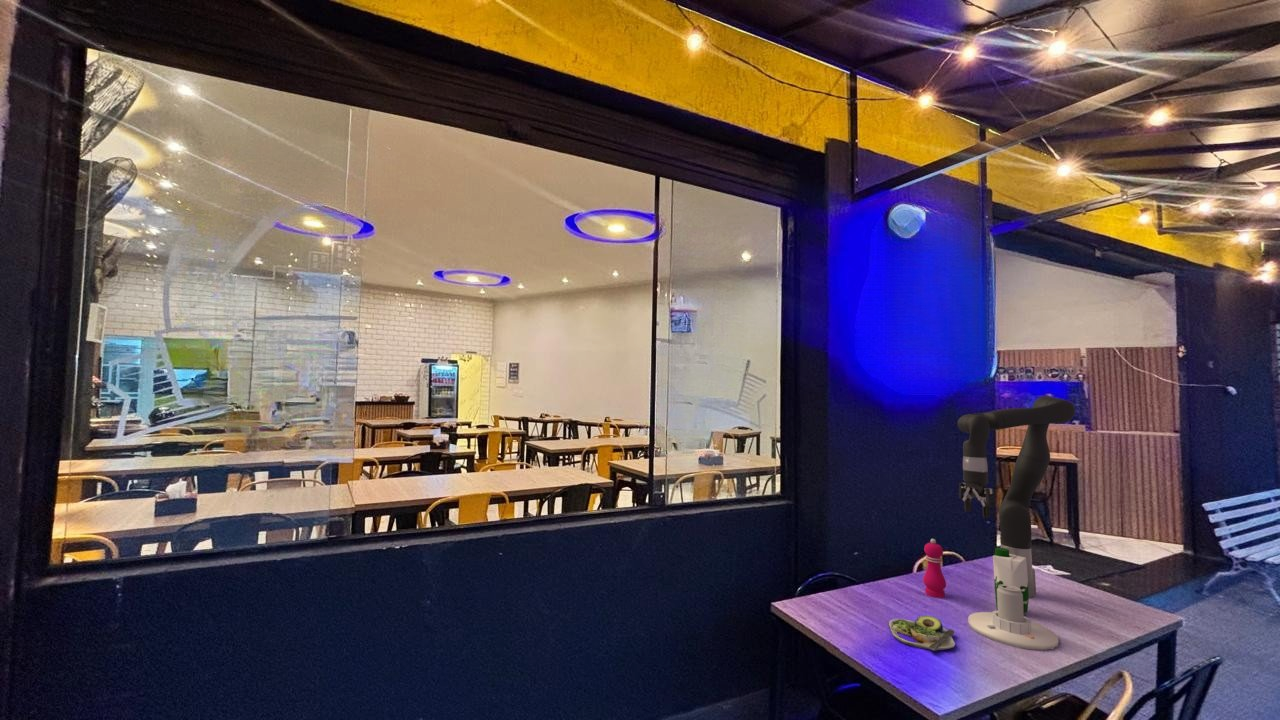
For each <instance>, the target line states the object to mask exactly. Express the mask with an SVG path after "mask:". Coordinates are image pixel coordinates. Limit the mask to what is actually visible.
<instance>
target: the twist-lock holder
mask: <svg viewBox="0 0 1280 720" xmlns="http://www.w3.org/2000/svg"><path fill="white" fill-rule="evenodd" d="M967 620H968V621H967V622H968V626H969V627H970V628H971V629H972V631H974V632H976V633H978V635H981V636H982V637H985V638H987V639H989V640H991V641H994V642H998V643H1000V644H1002V645H1007V646H1011V647H1014V648H1015V647H1016V648H1019V649H1025V650H1030V651H1031V650H1033V651H1048V650H1047V649H1051V650H1053V649H1052V648H1055V647H1056V648H1058V647H1059V644H1058V643H1059V636H1058V635H1057V634H1056V633H1055V632H1054V631H1052V630H1051V629H1049V628H1048V627H1046V626H1044V625H1042V624H1039V623H1037V622H1036V621H1032V620H1030V618H1029V617H1027V616H1025V615H1024V622H1020V623H1018V622H1012V621H1008V620H1005V619H1002V618H1000V617H998V610H993V611H991V612H990V611H981V612H973V613H970V614H969V616H968V619H967ZM1057 646H1058V647H1057ZM1056 648H1055V649H1056Z"/></svg>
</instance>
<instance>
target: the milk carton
mask: <svg viewBox="0 0 1280 720" xmlns="http://www.w3.org/2000/svg"><path fill="white" fill-rule="evenodd" d="M992 561H993V578H994V579H993V580H994V596H995V606H996V611H998V604H997V588H998V585H1000V584H1005V585H1011V586H1015V587H1018V588H1020V589H1021V592H1022V594H1023V612H1024V616H1025V615H1026V613H1028V609H1029V602H1030V601H1029V600H1030V598H1029V592H1028V573H1027V563H1026V558H1025V557H1020V556H1017V555H1012V554H1009V550H1008V549H1005V548H1001V547H995V548H994V554H993V555H992Z"/></svg>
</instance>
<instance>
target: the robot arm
mask: <svg viewBox="0 0 1280 720" xmlns="http://www.w3.org/2000/svg"><path fill="white" fill-rule="evenodd" d="M1075 415H1076V407H1075V405H1074V404H1073V403H1072V402H1070V401H1069V400H1066V399H1064V398H1058V397H1053V396H1049V395H1048V396H1047V395H1043V396H1039V397H1038V398H1037V399H1036V400H1035V401H1034V403H1032V407H1022V408H1021V407H1019V408H1018V407H1016V408H1015V407H1014V408H1012V407H1011V408H1003V409H997V410H996V409H995V410H991V411H988V412H976V413H968V414H964V415H962V416H961V417H959V419H958V420H957V423H956V424H957V428H958V429H959V430H960V431H961V432H963V433H966V434H969V437H968V439H967V440H965V441H963V444H962V456H963V457H962V475H963V476H962V477H963V482H959V483H958V497H959V499H961V500H962V501H963V508H964V509H963V510H964V512H966V513H972V511H973V510H972V502H971V501H972V500H973V498H975V499H977V500H978V501H979V502H980V503H981V505H982V508H981V510H982V511H981V512H982V517H983V518H985V519H986V518H990V517H991V507H995V506H996V498H995V489H994V488H990V487H989V488H987V484H988V483H989V473H988V472H989V471H988V470H989V469H988V461H987V443H988V440H989V436H990V431H994V430H995V431H998V430H1004V429H1010V428H1016V427H1021V426H1022V427H1023V426H1024V427H1025V426H1027V428H1026V429H1027V430H1026V432H1025V436H1024V438H1023V442H1022V445H1021V448H1020V450H1019V452H1018V455H1017V457H1016V461H1015V465H1014V467H1013V471H1012V476H1011V481H1010V485H1009V487H1008V490H1007V492H1006V493H1005V496H1004V498H1003V499H1002V502H1001V503H1000V506H998V515H999V526H1000V534H999V535H1000V538H999V540H1000V541H999V542H1000V548H1005V549H1008V550H1009V554H1012V555H1017V556H1020V557H1025V558H1026V563H1027V573H1028V592H1029V599H1030V598H1033V597H1037V588H1036V587H1037V585H1036V584H1037V583H1036V582H1037V581H1036V569H1034V568H1033V557H1032V541H1033V540H1032V539H1033V538H1032V536H1033V535H1032V519H1031V518H1032V517H1031V514H1030V511H1029V510H1030V504H1031V501H1032V498H1033V495H1034V493H1035V491H1036V490H1037V488H1038V487H1039V485H1040V484H1041V482H1042V481H1043V479H1044V477H1045V475H1046V473H1047V471H1048V468H1049V464H1050V463H1051V462H1050V461H1051V452H1050V447H1049V443H1048V437H1047V434H1048V430H1049V426H1050V424H1066V423H1068V422H1070V421H1072V420H1073V418H1074V417H1075Z"/></svg>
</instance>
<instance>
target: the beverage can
mask: <svg viewBox="0 0 1280 720" xmlns="http://www.w3.org/2000/svg"><path fill="white" fill-rule="evenodd" d="M997 604H998V610H997V611H998V617H1000V618H1002V619H1005V620H1008V621H1012V622H1018V623H1020V622H1024V616H1025V615H1024V612H1023V594H1022V592H1021V589H1020V588H1018V587H1015V586H1011V585H1005V584H1000V585H998V588H997Z"/></svg>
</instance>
